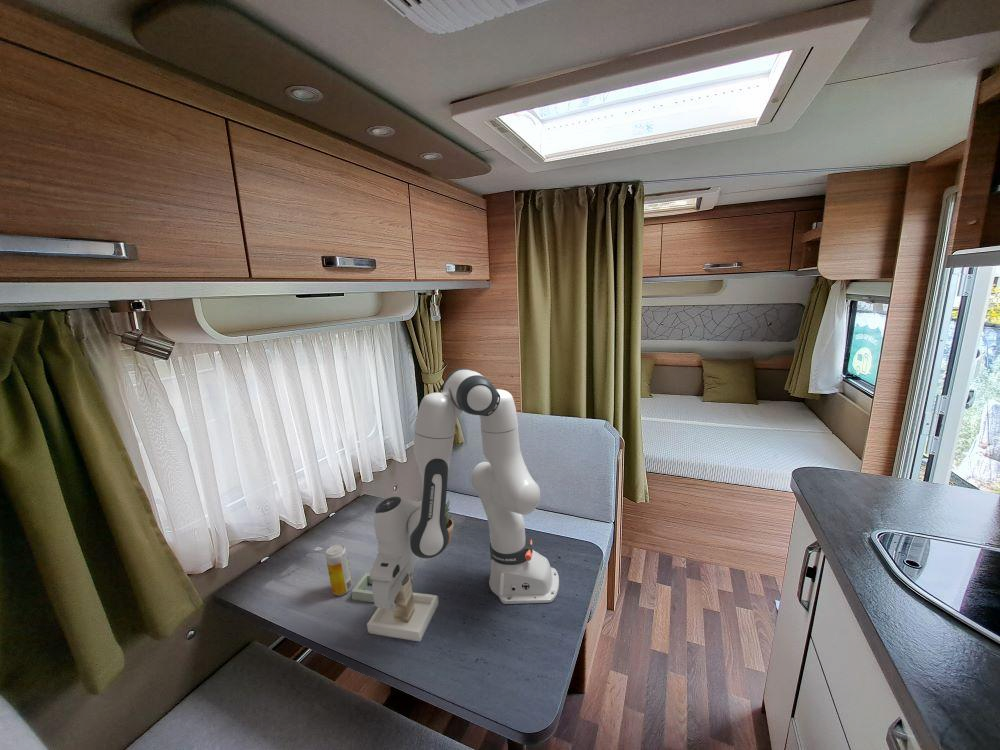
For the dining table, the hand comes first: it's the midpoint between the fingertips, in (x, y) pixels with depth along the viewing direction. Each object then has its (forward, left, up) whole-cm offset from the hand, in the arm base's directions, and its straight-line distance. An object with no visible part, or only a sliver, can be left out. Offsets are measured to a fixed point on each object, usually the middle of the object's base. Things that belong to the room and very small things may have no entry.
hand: (401, 595), depth 110 cm
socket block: (+16, -8, -8) cm, 19 cm away
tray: (0, 0, -8) cm, 8 cm away
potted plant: (+2, -35, -8) cm, 36 cm away
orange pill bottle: (+26, -7, -8) cm, 28 cm away
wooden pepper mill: (0, 0, -7) cm, 7 cm away
